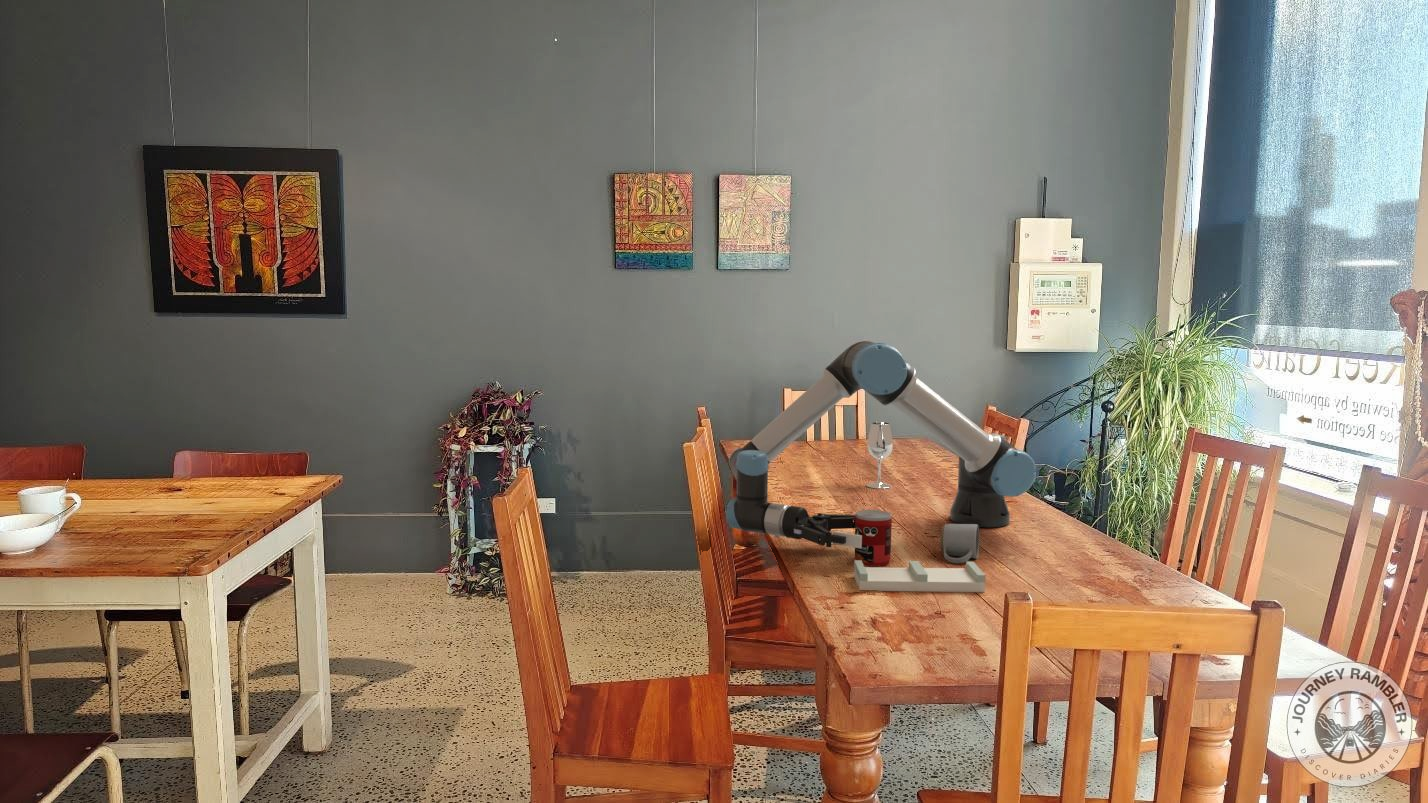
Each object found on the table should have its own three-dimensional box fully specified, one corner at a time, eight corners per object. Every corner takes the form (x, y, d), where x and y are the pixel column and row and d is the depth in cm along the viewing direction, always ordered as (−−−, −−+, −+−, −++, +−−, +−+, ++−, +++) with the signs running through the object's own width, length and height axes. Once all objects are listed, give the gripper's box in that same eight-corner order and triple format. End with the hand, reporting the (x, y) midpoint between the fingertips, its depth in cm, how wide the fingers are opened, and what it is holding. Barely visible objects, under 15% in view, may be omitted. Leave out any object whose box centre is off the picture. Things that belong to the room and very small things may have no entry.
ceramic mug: (943, 549, 202) (944, 517, 201) (979, 553, 199) (980, 521, 198) (936, 562, 192) (937, 529, 191) (974, 567, 189) (976, 533, 188)
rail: (972, 577, 181) (973, 561, 181) (984, 592, 172) (985, 575, 172) (853, 576, 182) (854, 560, 182) (859, 590, 173) (860, 573, 173)
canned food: (848, 558, 194) (849, 511, 193) (878, 555, 197) (880, 508, 196) (865, 568, 187) (866, 519, 186) (897, 564, 190) (898, 516, 189)
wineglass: (877, 482, 275) (878, 420, 272) (896, 486, 269) (898, 423, 266) (861, 485, 270) (862, 423, 267) (880, 490, 264) (882, 425, 261)
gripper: (810, 525, 213) (892, 537, 202) (762, 549, 192) (850, 565, 181) (810, 495, 212) (892, 506, 201) (762, 517, 191) (851, 530, 180)
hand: (873, 534), depth 191 cm, fingers open, 13 cm apart
